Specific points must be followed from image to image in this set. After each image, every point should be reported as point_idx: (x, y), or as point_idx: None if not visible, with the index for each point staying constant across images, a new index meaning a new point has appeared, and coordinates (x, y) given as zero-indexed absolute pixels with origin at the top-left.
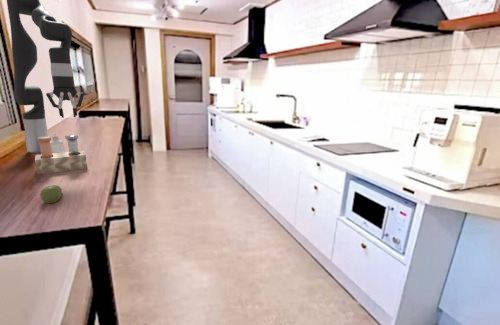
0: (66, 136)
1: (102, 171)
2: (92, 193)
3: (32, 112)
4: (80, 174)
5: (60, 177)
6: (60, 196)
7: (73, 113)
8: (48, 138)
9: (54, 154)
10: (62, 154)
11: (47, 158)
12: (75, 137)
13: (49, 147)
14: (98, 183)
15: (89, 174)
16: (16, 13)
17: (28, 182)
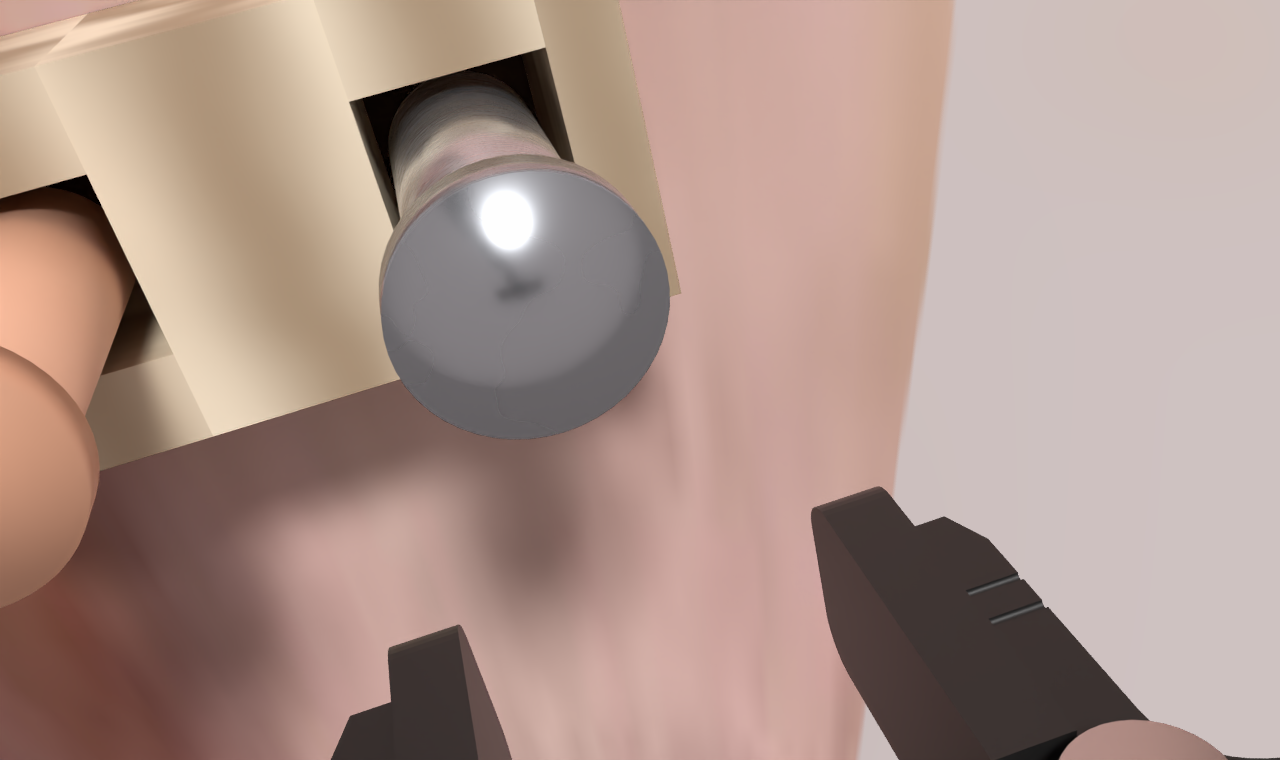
0: (425, 367)
1: (816, 392)
2: None
3: None
4: (582, 468)
5: (378, 545)
6: None
7: (891, 729)
8: (73, 548)
9: (110, 170)
10: (272, 196)
11: (115, 435)
12: (623, 378)
13: (87, 408)
14: (786, 728)
15: (682, 480)
16: None
17: (73, 667)
